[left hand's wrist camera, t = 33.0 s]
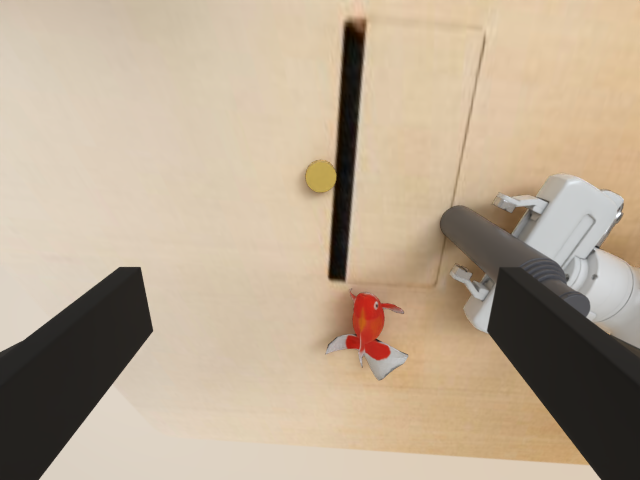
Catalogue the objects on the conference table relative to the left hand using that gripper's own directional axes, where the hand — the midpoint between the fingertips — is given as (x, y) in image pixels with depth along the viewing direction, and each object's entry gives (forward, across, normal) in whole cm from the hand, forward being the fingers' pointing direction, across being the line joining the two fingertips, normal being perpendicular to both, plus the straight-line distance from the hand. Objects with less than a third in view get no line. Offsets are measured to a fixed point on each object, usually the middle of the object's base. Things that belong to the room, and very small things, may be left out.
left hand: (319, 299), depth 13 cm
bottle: (+32, +18, -7) cm, 38 cm away
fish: (+32, +7, -22) cm, 40 cm away
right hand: (+26, +18, -7) cm, 32 cm away
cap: (+31, 0, -1) cm, 31 cm away
